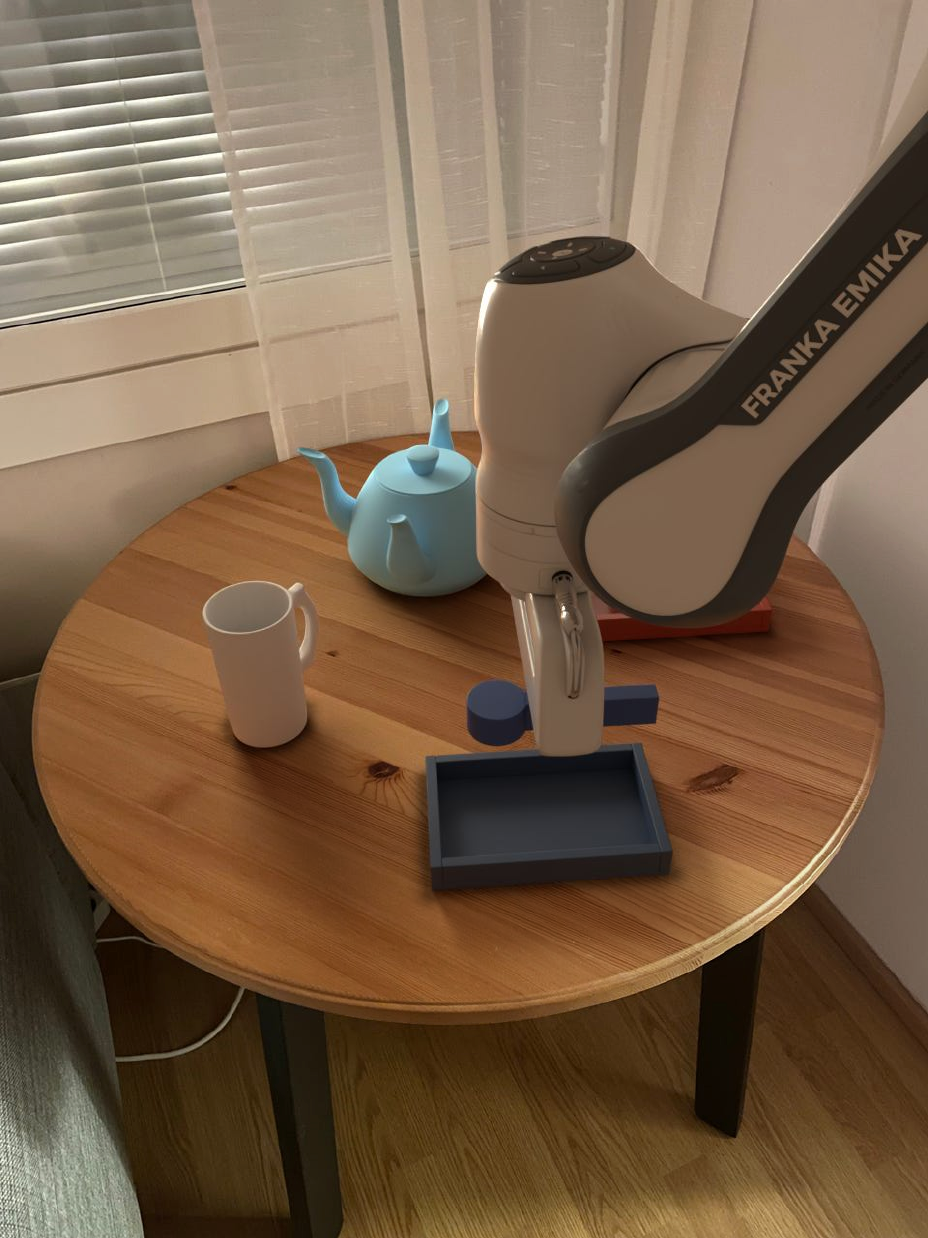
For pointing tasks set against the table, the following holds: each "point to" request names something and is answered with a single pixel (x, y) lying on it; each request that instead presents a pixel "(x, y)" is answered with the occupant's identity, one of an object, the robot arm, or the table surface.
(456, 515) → the teapot
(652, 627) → the red tray
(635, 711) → the blue spoon
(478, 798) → the blue tray
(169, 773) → the table surface
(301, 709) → the mug
